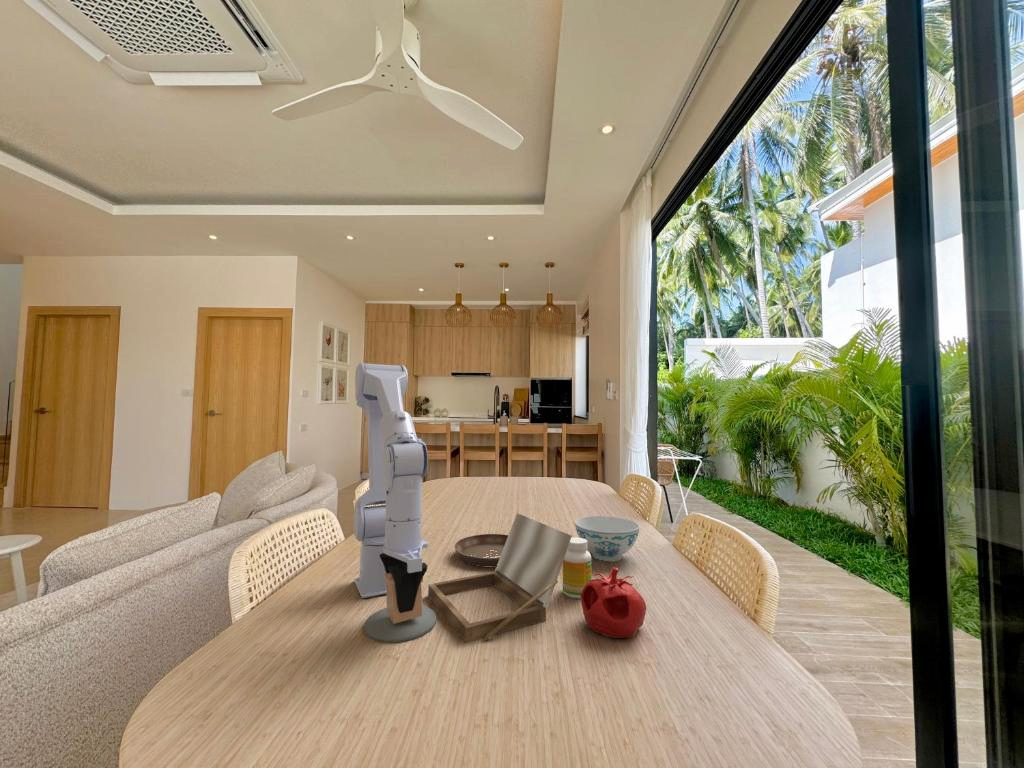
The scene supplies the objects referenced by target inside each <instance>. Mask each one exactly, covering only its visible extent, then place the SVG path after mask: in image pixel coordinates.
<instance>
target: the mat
mask: <svg viewBox="0 0 1024 768" xmlns="http://www.w3.org/2000/svg"><path fill="white" fill-rule="evenodd" d="M436 614H437V613H435V611H434V610H433V609H432V608H430V607H428V606H425V605H422V616H420V617H416V618H413V619H409V620H406V621H402V622H398V623H395V624H393V622H392V621H391V619H390V617H389V615H388V613H387V607H384V608H382V609H379V610H378V611H375V612H373V613H372V614H371V615H369V617H368V618H366V620H365V623H364V633H365V635H366V636H367V637H369V638H370V639H372V640H375V641H377V642H383V643H402V642H408V641H412V640H414V639H417V638H420V637H423V636H425V635H426V634H428V633H429V632H431V630H433V629H434V628H435V626H436V624H437V615H436Z"/></svg>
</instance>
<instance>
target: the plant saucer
mask: <svg viewBox="0 0 1024 768" xmlns="http://www.w3.org/2000/svg"><path fill="white" fill-rule="evenodd" d="M508 535H509V534H504V533H502V534H501V533H484V534H483V533H481V534H475V535H470V536H467V537H463V538H461V539H459V540H458V541H456V543H455V544H454V549H455V552H456V554H457V555H458V556H459V557H460V559H462V560H463V561H464V562H465V563H467V564H469V563H470V564H469V565H471V564H473V565H472V566H475V565H479V566H478V567H481V566H497V564H498V561H499V559H500V557H497V558H490V557H495V556H501V554H502V551H503V548H504V546H505V543H506V540H507V538H508ZM490 550H494V551H490ZM495 551H497V552H495ZM490 553H492V554H490ZM486 554H488V555H486ZM496 554H498V555H496ZM471 555H472V556H471ZM474 555H475V556H474ZM490 555H491V556H490ZM486 556H489V557H487V558H483V557H486Z"/></svg>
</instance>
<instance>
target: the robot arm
mask: <svg viewBox="0 0 1024 768" xmlns="http://www.w3.org/2000/svg"><path fill="white" fill-rule="evenodd" d="M354 380H355V381H354V384H355V385H354V387H355V388H354V390H355V391H354V392H355V401H356V406H358V407H359V408H360V409H363V410H364V412H365V418H366V425H367V427H366V430H367V453H368V454H367V456H368V457H367V459H368V460H367V461H368V463H367V464H368V488H369V489H367V490H366V491H365V492H364V493H363V494H362V495H360V496H359V497H358V498H357V500H356V502H355V503H354V514H353V533H354V534H353V536H354V537H355V539H356V541H358V542H361V546H360V550H359V551H360V552H359V553H360V554H359V577H355V578H354V579H353V581H354V585H355V586H356V588H357V590H358V592H359V594H360V597H361V598H362V599H366V598H372V597H377V596H381V595H382V596H383V595H386V581H385V580H384V574H387V573H391V575H392V578H393V581H394V584H395V590H396V599H397V606H398V610H399V612H400V613H403V612H408V611H412V610H413V608H414V604H415V600H416V596H417V592H418V588H419V585H420V582H421V580H422V578H423V579H424V576H425V574H426V572H427V571H428V565H427V564H426V562H423V557H422V552H423V549H427V548H428V547H429V542H428V541H426V540H422V521H423V520H422V515H423V514H422V513H423V512H422V511H423V478H425V477H426V475H427V473H428V470H429V469H428V467H429V452H428V448H427V444H426V443H425V442H424V441H423V440H422V438H418V436H417V433H416V429H415V425H414V421H413V418H412V416H411V414H410V413H408V412H407V411H404V404H403V400H404V396H405V394H406V391H407V388H408V383H409V382H408V381H409V374H408V369H407V368H406V366H405V365H404V364H400V365H397V364H396V365H393V364H379V363H376V364H375V363H365V362H359V363H358V364H357V366H356V369H355V378H354ZM421 583H422V582H421Z"/></svg>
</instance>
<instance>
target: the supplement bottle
mask: <svg viewBox="0 0 1024 768" xmlns="http://www.w3.org/2000/svg"><path fill="white" fill-rule="evenodd" d="M590 580H592V555H591V553H590V551H589V550H588V549H587V540H586V539H583V538H579V536H577V537H571V540H570V543H569V545H568V548H567V551H566V554H565V557H564V560H563V563H562V592H563V594H564V595H565V596H567V597H569V598H572V599H581V593H582V590H583V588H584V587H585V585H586V583H587V582H589V581H590Z"/></svg>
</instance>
